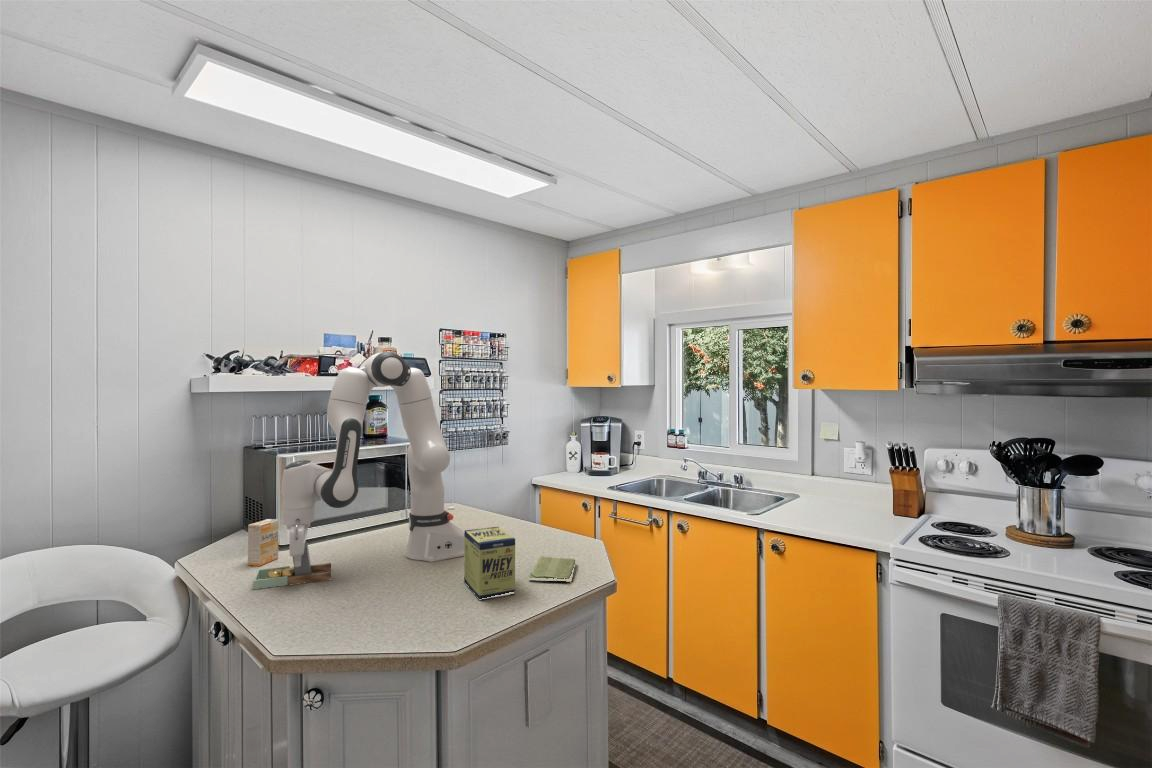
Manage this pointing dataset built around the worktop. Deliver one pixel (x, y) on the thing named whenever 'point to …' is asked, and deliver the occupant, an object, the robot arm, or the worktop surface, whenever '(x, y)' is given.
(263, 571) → the chip tray
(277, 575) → the puck
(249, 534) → the supplement box
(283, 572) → the puck
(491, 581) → the protein box
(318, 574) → the slot rails
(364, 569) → the worktop surface
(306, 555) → the rake block
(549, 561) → the washcloth
